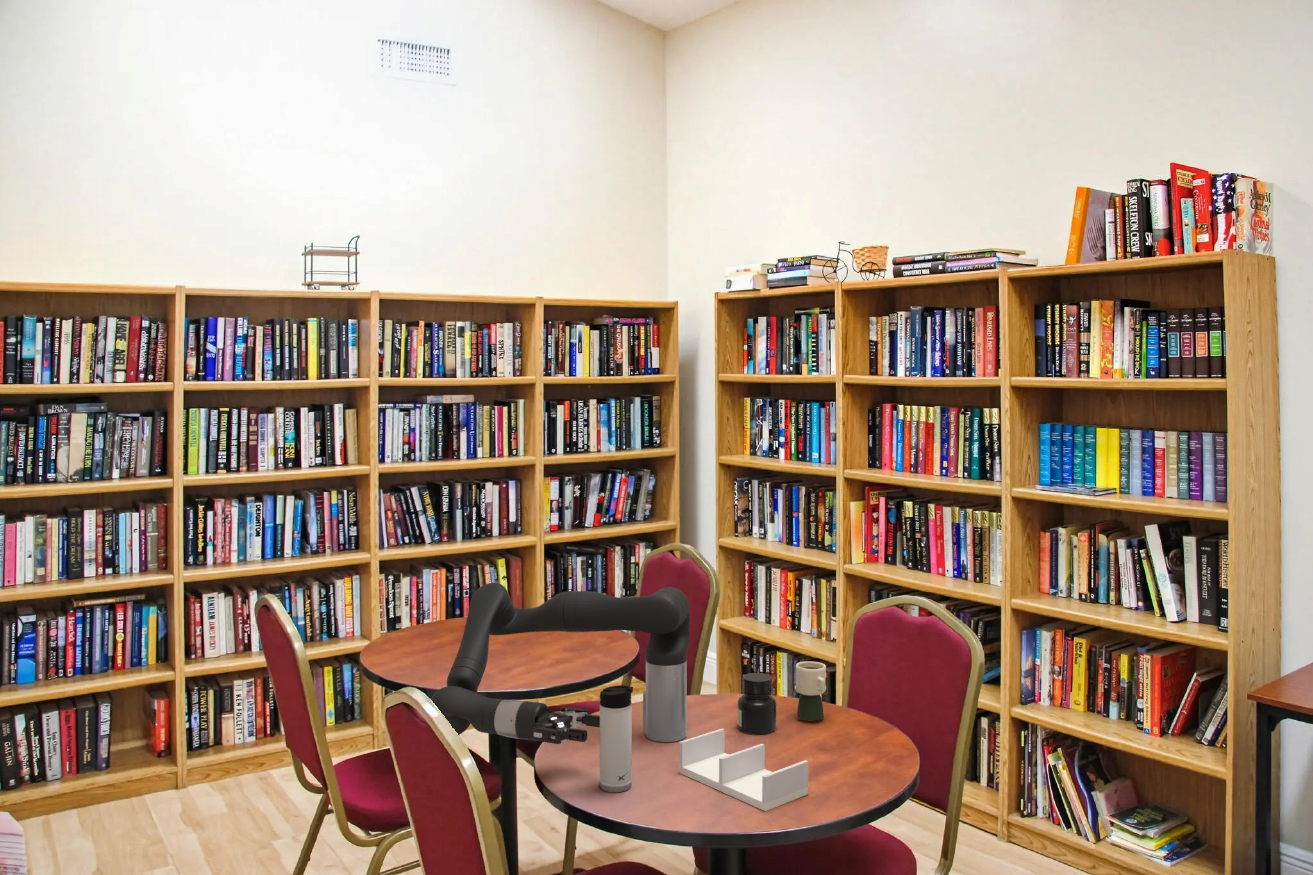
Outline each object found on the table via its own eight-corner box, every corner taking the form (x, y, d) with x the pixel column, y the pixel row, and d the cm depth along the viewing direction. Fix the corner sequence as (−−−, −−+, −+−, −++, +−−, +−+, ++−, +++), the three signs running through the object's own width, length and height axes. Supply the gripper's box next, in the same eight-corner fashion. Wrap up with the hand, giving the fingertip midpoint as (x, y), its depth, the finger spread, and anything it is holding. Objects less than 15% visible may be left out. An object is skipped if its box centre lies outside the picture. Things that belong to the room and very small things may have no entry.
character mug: (836, 724, 237) (836, 669, 236) (810, 728, 234) (811, 673, 233) (810, 710, 246) (810, 657, 246) (785, 714, 243) (785, 661, 243)
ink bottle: (750, 718, 240) (751, 668, 240) (783, 726, 235) (784, 675, 235) (729, 730, 233) (729, 678, 232) (762, 738, 227) (763, 685, 227)
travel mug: (629, 794, 197) (629, 692, 196) (596, 791, 199) (596, 690, 197) (636, 781, 203) (636, 683, 202) (604, 778, 205) (604, 681, 203)
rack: (679, 772, 208) (679, 741, 207) (721, 758, 216) (721, 728, 215) (765, 811, 190) (765, 777, 189) (807, 793, 197) (808, 761, 197)
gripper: (505, 712, 200) (580, 721, 195) (537, 691, 214) (608, 699, 208) (505, 749, 201) (580, 760, 195) (537, 726, 214) (608, 735, 209)
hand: (595, 728), depth 202 cm, fingers open, 8 cm apart
